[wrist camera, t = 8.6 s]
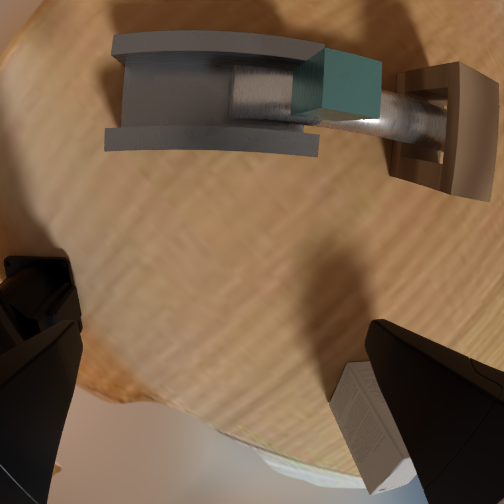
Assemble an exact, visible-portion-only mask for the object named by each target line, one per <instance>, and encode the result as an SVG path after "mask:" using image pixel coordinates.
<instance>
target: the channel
mask: <svg viewBox="0 0 504 504" xmlns="http://www.w3.org/2000/svg"><path fill="white" fill-rule="evenodd" d="M324 48H325V44H322V43H317V42H312V41H306V40H300V39H294V38H288V37H281V36H273V35H265V34H256V33H245V32H231V31H210V30H171V31H150V32H137V33H126V34H117V35H114V37H113V44H112V51H111V55H112V56H113V57H114V58H115V59H117V60H118V61H119V62H120V63H121V64H123V65H124V66H125V73H124V84H123V96H122V111H121V127H119V128H105V146H104V151H124V150H170V149H178V150H225V151H247V152H263V153H277V154H289V155H300V156H310V157H318V146H319V135H316V134H308V133H303V127H304V125H301V124H292V123H282V122H272V121H260V120H246V119H230V93H231V82H232V74H233V68H234V65H245V66H257V67H267V68H276V69H284V70H291V71H293V70H294V69H296V68H297V67H298V66H300V65H301V64H302V63H304V62H305V61H307V60H308V59H309V58H311V57H312V56H314V55H315V54H316V53H318V52H319V51H321V50H322V49H324Z"/></svg>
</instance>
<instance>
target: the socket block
mask: <svg viewBox="0 0 504 504" xmlns="http://www.w3.org/2000/svg"><path fill="white" fill-rule="evenodd" d="M396 93H398V94H401V95H405V96H408V97H411V98H414V99H417V100H420V101H423V102H426V103H429V104H432V105H435V106H438V107H441V108H443V109H444V106H447V122H446V136H445V148H444V157H443V164H439V162H440V153H441V151H437V150H434V149H430V148H426V147H422V146H418V145H414V144H409V143H405V142H401V141H396V140H393V148H392V158H391V166H390V175H389V176H392V177H396V178H399V179H403V180H406V181H410V182H413V183H416V184H419V185H423V186H426V187H429V188H432V189H435V190H438V191H441V192H444V193H447V194H450V195H455V196H460V197H465V198H470V199H475V200H480V201H485V202H490V198H491V192H492V185H493V178H494V171H495V162H496V152H497V140H498V123H499V84H498V83H497V82H495V81H494V80H492V79H490V78H489V77H487V76H485V75H483V74H482V73H480V72H478V71H476V70H475V69H473V68H471V67H469V66H467V65H465V64H463V63H461V62H460V61H459V62H453V63H447V64H441V65H436V66H431V67H426V68H421V69H416V70H412V71H407V72H403V73H399V74H397V90H396Z"/></svg>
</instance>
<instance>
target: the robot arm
mask: <svg viewBox="0 0 504 504" xmlns="http://www.w3.org/2000/svg"><path fill="white" fill-rule="evenodd" d="M8 261H9V262H10V264H9V262H8ZM62 263H64V264H65V265H66V267H64V266H63V265H62ZM4 267H5V271H6V276H7V278H6V279H5V280H4V281H3V282H2V283H1V284H0V504H47V499H48V494H49V488H50V483H51V478H52V473H53V469H54V464H55V460H56V455H57V451H58V447H59V443H60V439H61V435H62V431H63V428H64V424H65V420H66V417H67V413H68V410H69V407H70V403H71V400H72V397H73V393H74V389H75V384H76V379H77V374H78V369H79V365H80V360H81V356H82V351H83V344H82V340H81V336H80V333H81V331H82V329H83V326H82V322H81V318H80V317H81V315H82V314H81V309H80V304H79V299H78V294H77V289H76V286H75V285H74V283H73V277H72V271H71V264H70V261H69V260H68V259H67V258H64V257H30V256H8V257H6V258H5V259H4ZM365 349H366V352H367V355H368V357H369V360H370V363H371V366H372V369H373V372H374V375H375V378H376V381H377V383H378V386H379V388H380V391H381V393H382V395H383V397H384V399H385V401H386V404H387V406H388V408H389V410H390V412H391V415H392V417H393V419H394V421H395V423H396V426H397V428H398V430H399V433H400V435H401V437H402V439H403V442H404V444H405V446H406V449H407V451H408V453H409V456H410V458H411V461H412V463H413V465H414V468H415V470H416V473H417V475H418V478H419V480H420V483H421V485H422V487H423V489H424V493H425V496H426V498H427V501H428V503H429V504H504V372H503V371H500V370H498V369H495V368H493V367H490V366H488V365H485V364H483V363H481V362H478V361H476V360H474V359H472V358H469V357H467V356H465V355H463V354H460V353H458V352H456V351H454V350H451V349H449V348H447V347H445V346H443V345H440V344H438V343H436V342H434V341H431V340H429V339H427V338H425V337H423V336H420V335H418V334H416V333H414V332H412V331H409V330H407V329H405V328H403V327H401V326H398V325H396V324H394V323H392V322H390V321H387V320H385V319H376V320H372V321H371V323H370V326H369V329H368V332H367V336H366V339H365Z"/></svg>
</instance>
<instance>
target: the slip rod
mask: <svg viewBox="0 0 504 504" xmlns="http://www.w3.org/2000/svg"><path fill="white" fill-rule="evenodd" d="M381 85H382V62H380V61H377V60H374V59H370V58H367V57H363V56H359V55H355V54H351V53H347V52H343V51H339V50H334V49H330V48H324V49H322V50H321V51H319V52H318V53H316V54H315V55H314V56H312V57H311V58H309V59H308V60H307V61H305V62H304V63H302V64H301V65H300V66H298V67H297V68H296V69H294V70H293V71H291V70H284V69H276V68H267V67H257V66H245V65H234V68H233V74H232V82H231V93H230V119H246V120H260V121H272V122H282V123H292V124H301V125H309V126H317V127H324V128H331V129H337V130H344V131H350V132H355V133H361V134H367V135H372V136H377V137H382V138H387V139H392V140H396V141H401V142H405V143H409V144H414V145H418V146H422V147H426V148H430V149H434V150H437V151H441V152H444V148H445V136H446V122H447V110H446V109H443V108H441V107H438V106H435V105H432V104H429V103H426V102H423V101H420V100H417V99H414V98H411V97H408V96H405V95H401V94H398V93H395V92H391V91H388V90H384V89H381Z"/></svg>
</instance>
